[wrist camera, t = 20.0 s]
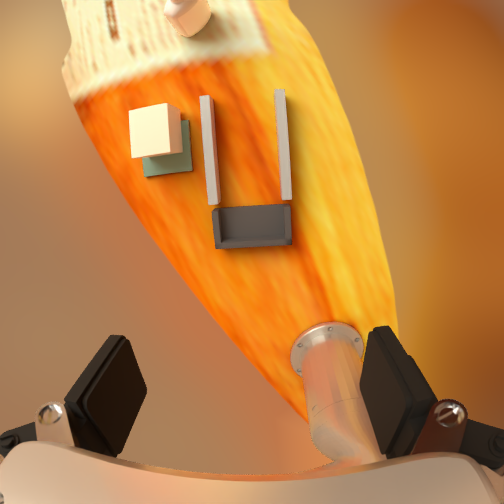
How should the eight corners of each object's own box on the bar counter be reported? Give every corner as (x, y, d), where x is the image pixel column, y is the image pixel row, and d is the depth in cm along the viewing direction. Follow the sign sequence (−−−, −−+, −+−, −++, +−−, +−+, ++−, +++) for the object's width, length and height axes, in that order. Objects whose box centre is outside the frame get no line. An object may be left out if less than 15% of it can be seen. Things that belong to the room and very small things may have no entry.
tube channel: (289, 196, 38) (291, 199, 35) (212, 201, 39) (208, 204, 36) (282, 94, 34) (284, 89, 31) (204, 100, 34) (199, 96, 31)
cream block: (182, 152, 36) (170, 151, 31) (148, 157, 36) (131, 158, 31) (180, 109, 34) (167, 102, 29) (145, 116, 34) (128, 111, 29)
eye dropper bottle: (219, 24, 30) (203, -18, 19) (182, 41, 31) (154, 5, 20) (207, 5, 29) (189, -38, 18) (172, 22, 30) (143, -16, 19)
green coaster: (192, 170, 37) (191, 170, 37) (145, 176, 38) (144, 176, 37) (188, 120, 35) (187, 119, 35) (141, 128, 36) (139, 128, 35)
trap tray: (290, 239, 40) (291, 244, 38) (218, 243, 41) (215, 249, 38) (288, 203, 38) (290, 206, 36) (214, 208, 39) (211, 211, 37)
